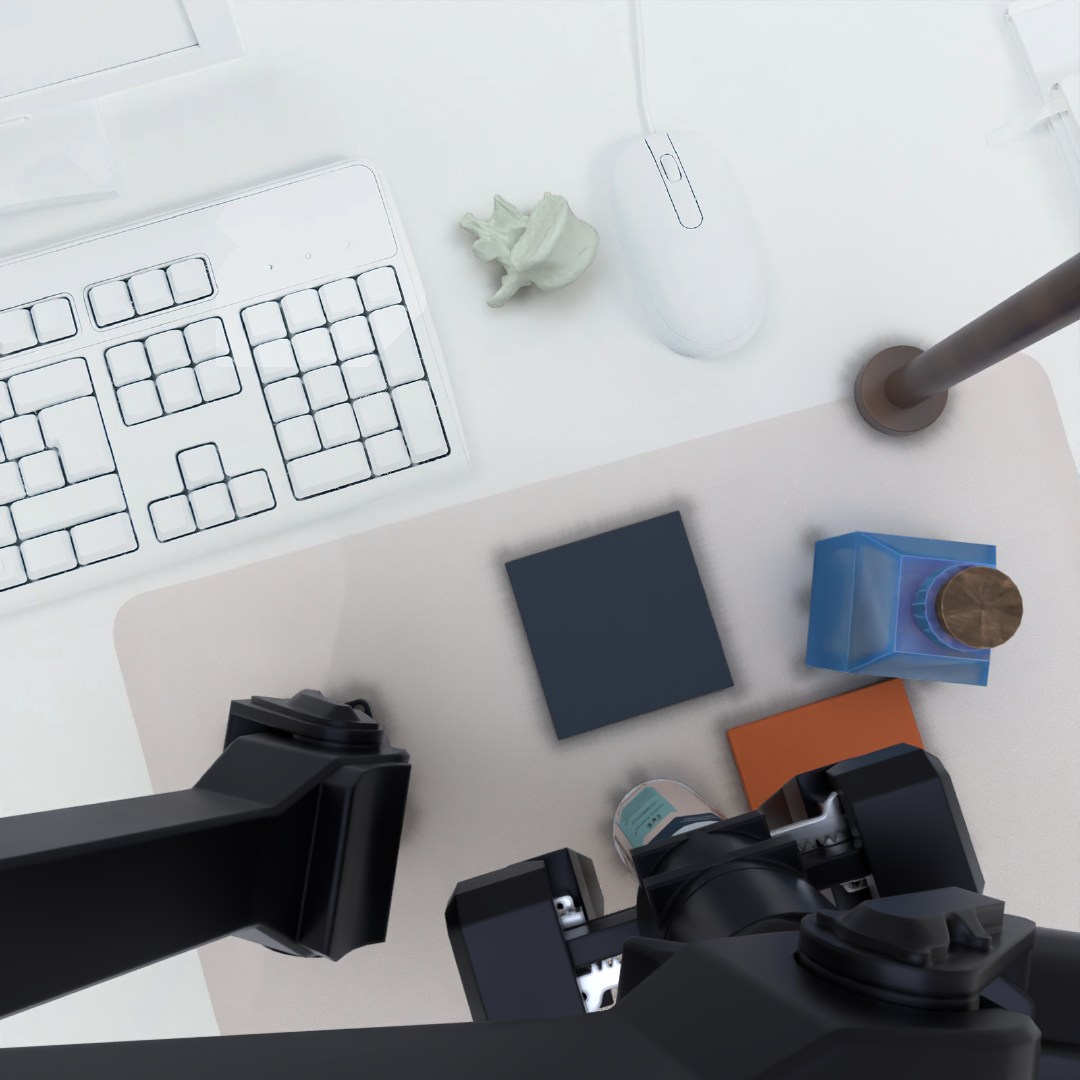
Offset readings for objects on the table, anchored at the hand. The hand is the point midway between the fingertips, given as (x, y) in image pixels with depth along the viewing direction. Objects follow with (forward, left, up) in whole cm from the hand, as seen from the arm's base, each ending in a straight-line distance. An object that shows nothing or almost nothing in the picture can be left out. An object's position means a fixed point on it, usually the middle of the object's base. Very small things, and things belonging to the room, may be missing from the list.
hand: (677, 847), depth 46 cm
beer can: (0, 0, -5) cm, 5 cm away
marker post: (+18, +17, -4) cm, 25 cm away
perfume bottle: (+13, +7, -5) cm, 16 cm away
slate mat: (+1, +10, -4) cm, 11 cm away
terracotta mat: (+9, -1, -4) cm, 10 cm away
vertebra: (+1, +30, -1) cm, 30 cm away
